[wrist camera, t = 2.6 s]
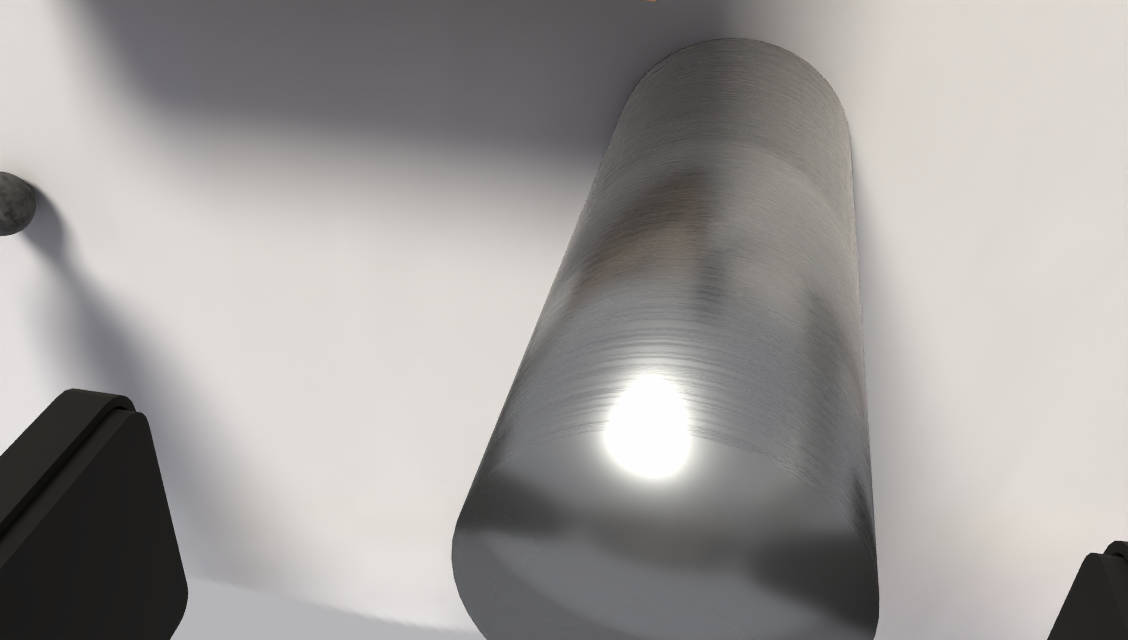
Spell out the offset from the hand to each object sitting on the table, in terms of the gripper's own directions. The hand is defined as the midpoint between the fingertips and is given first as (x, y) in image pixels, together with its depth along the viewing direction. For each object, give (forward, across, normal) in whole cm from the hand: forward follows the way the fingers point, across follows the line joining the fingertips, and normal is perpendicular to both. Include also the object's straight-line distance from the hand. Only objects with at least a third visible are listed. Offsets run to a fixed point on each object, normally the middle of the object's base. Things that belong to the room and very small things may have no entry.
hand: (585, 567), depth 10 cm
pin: (+9, -1, -1) cm, 9 cm away
